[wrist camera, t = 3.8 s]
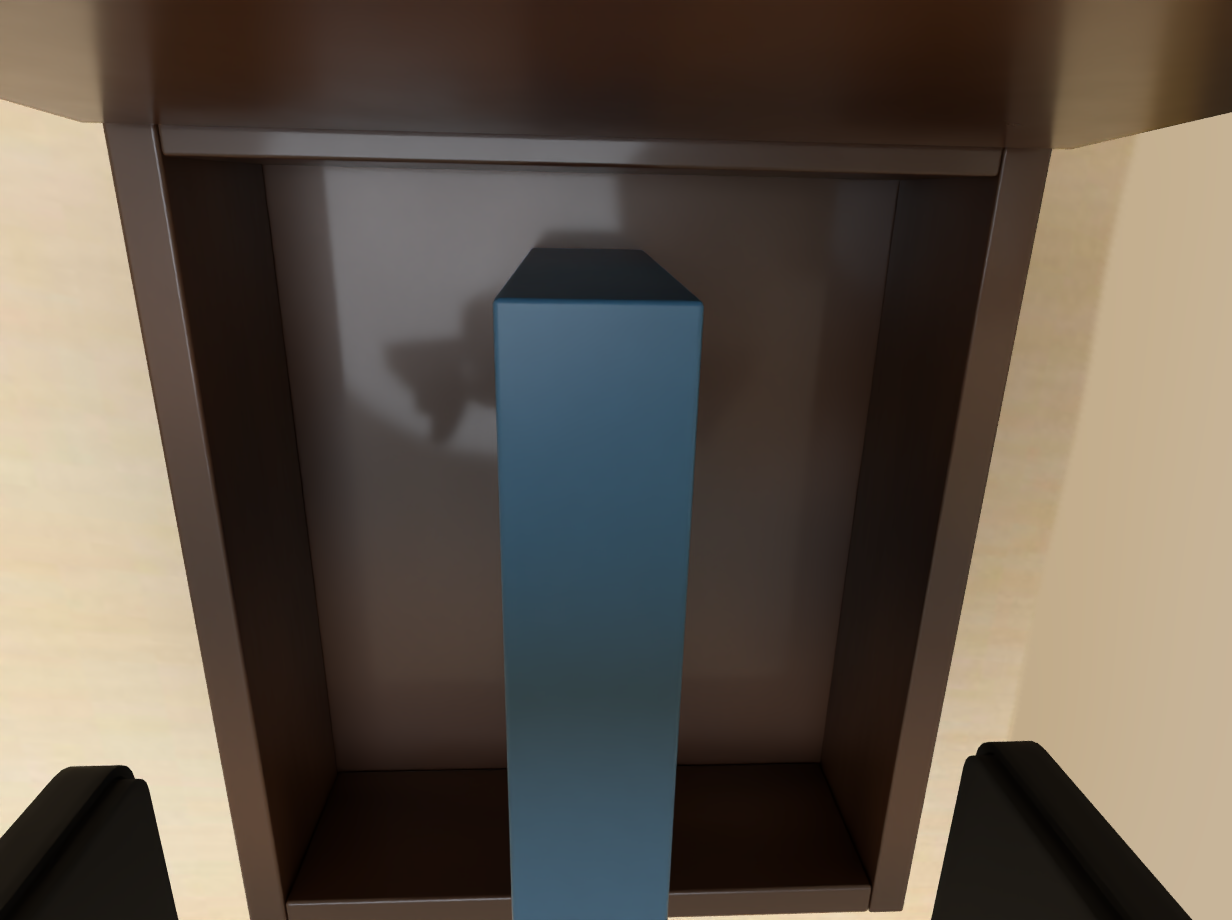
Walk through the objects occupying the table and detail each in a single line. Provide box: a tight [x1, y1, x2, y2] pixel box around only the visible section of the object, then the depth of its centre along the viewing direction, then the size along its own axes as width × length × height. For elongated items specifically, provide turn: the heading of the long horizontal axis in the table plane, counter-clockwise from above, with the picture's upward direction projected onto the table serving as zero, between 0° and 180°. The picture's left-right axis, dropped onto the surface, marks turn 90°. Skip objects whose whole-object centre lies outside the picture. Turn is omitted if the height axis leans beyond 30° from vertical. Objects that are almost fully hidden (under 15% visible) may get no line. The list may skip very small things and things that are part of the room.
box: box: [103, 123, 1052, 920], centre depth 17 cm, size 17×15×5 cm
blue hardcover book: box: [493, 248, 704, 920], centre depth 14 cm, size 12×2×8 cm, turn 179°
